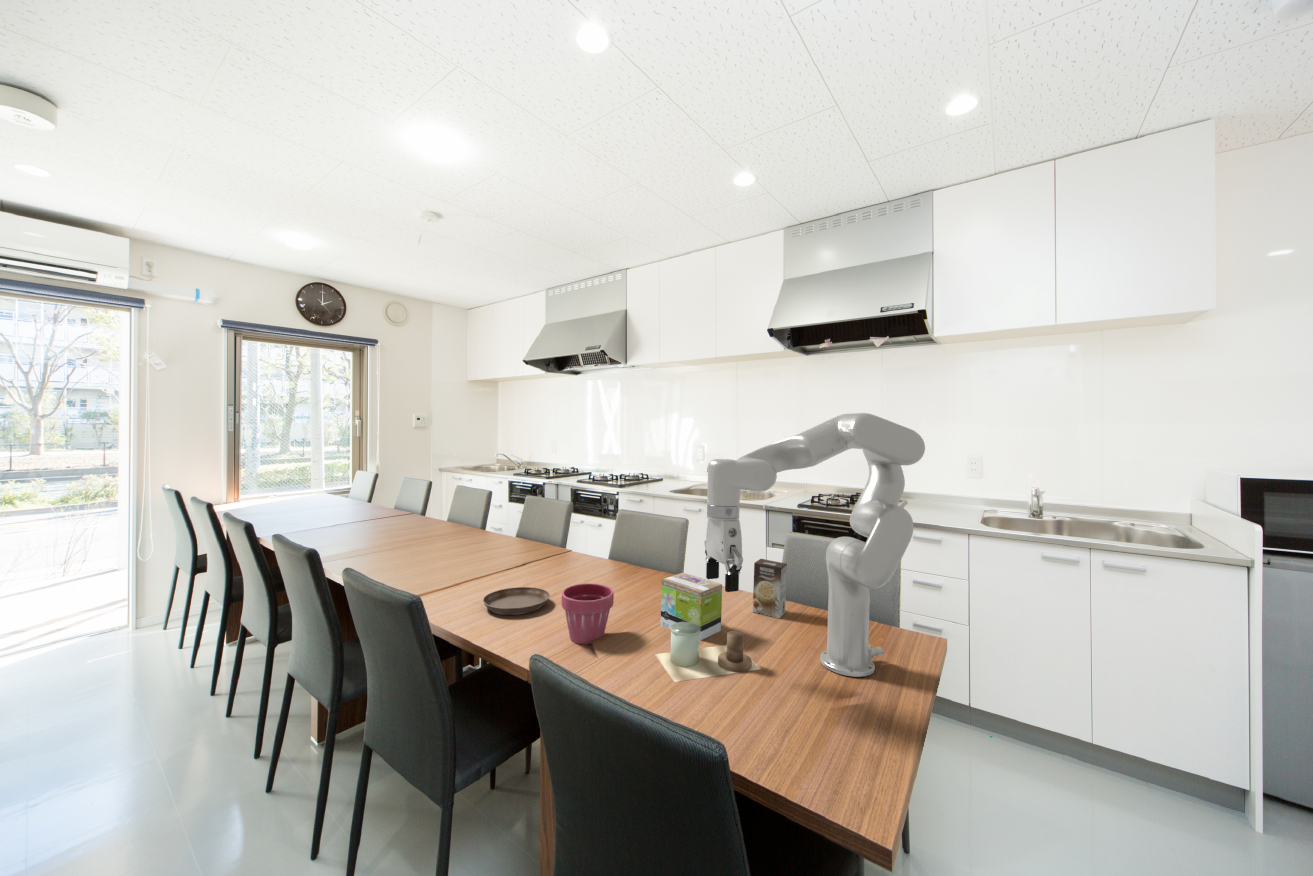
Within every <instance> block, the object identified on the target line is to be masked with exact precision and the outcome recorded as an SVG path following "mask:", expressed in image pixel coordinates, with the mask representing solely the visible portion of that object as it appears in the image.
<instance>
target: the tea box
mask: <svg viewBox="0 0 1313 876" xmlns="http://www.w3.org/2000/svg"><path fill="white" fill-rule="evenodd" d="M660 588H661V591H660V592H661V593H660V598H661V599H660V628H661V629H663V628H664V629H665V628H667V629H670V630H671V625H672V624H674V623H678V622H690V623H694V624H697V625H698V626H699V627H700V641H703V640H705V639H706V638H708V637H711V636H713V635H715V634H717V633H719V632H721V631H722V607H723V606H722V605H723V604H722V602H723V584H722V583H718V582H716V581H711V580H710V579H707V578H706V579H705V578H702V577H698V576H695V575H692V574H689V573H685V572H681V573H677V574H675V575H674V574H673V575H672V576H668V577H665V578H661V585H660Z"/></svg>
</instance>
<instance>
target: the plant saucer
mask: <svg viewBox="0 0 1313 876" xmlns="http://www.w3.org/2000/svg"><path fill="white" fill-rule="evenodd" d="M550 596H551V594H550V593H549V592H548V591H547V590H545V589H542V588H540V587H532V586H531V587H529V586H527V587H526V586H522V587H521V586H520V587H519V586H518V587H510V588H509V587H508V588H504V589H499V590H495V591H492V592H490V593H488V594H486V595H485V596H484V597H483V599H482V603H483V605H485V607H486V608H487V609H488V610H489V611H491V612H492V613H494V614H498V615H503V616H518V615H525V614H530V613H532V612H536V611H537V610H539V609H541V608H542V607H543V606H544V605H545V604H546V603H547V601H548V600H549V598H550Z"/></svg>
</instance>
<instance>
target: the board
mask: <svg viewBox="0 0 1313 876" xmlns="http://www.w3.org/2000/svg"><path fill="white" fill-rule="evenodd" d="M723 652H727V644H723V645H715V646H707V647H702V648H701V647H699V663H698V664H697V665H695V666H692V667H680V666H676V665H674V664H673V663H672V662H671V661H670V654H671V651H669V652H662V653H655V654H654V655H655V657H656V658H657V659H658V661H659V662H660V664H661V665H662V666H663V668H664V670H665V671H666V672H667V674H668V675H669V676H670V678H671V680H672V681H673V682H674V683H677V682H678V683H680V682H685V681H686V682H687V681H692V680H693V681H694V680H698V679H699V680H700V679H705V678H711V677H718V676H724V675H730V674H731V675H733V674H738V673H740V672H732V671H728V670H725V669H723V668H721V667H720V666H719V664H718V656H719V655H720V654H721V653H723ZM743 654H745V652H743ZM757 670H762V668H761V667H760V666H759V665H758V664H757V663H756V662H755V661H753V660H752V665H751V668H750V669H749V670H747V671H744V672H750V671H757ZM744 672H743V673H744Z"/></svg>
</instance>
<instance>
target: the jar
mask: <svg viewBox="0 0 1313 876" xmlns="http://www.w3.org/2000/svg"><path fill="white" fill-rule="evenodd" d="M700 642H701V640H700V627H699V626H698V625H697V624H694V623H690V622H678V623H674V624H672V625H671V629H670V652H671V654H670V661H671V662H672V663H673V664H674V665H676V666H680V667H692V666H695V665H697V664H698V663H699V648H700Z"/></svg>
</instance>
